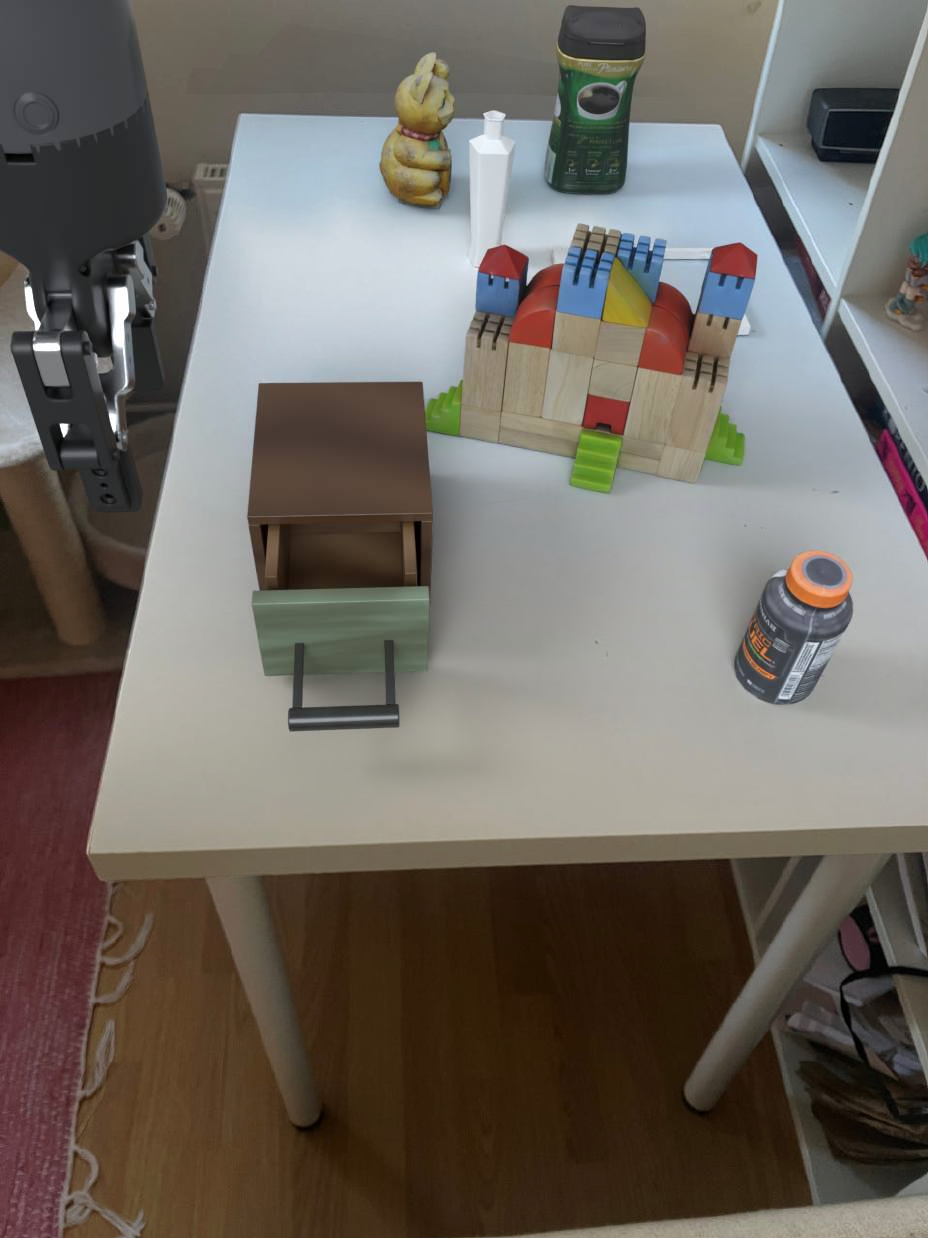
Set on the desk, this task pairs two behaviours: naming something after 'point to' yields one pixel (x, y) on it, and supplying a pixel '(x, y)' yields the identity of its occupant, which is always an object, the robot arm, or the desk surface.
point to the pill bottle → (795, 628)
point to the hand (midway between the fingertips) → (131, 443)
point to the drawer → (342, 613)
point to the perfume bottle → (489, 185)
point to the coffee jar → (594, 98)
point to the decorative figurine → (420, 137)
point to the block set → (602, 359)
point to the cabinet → (340, 461)
